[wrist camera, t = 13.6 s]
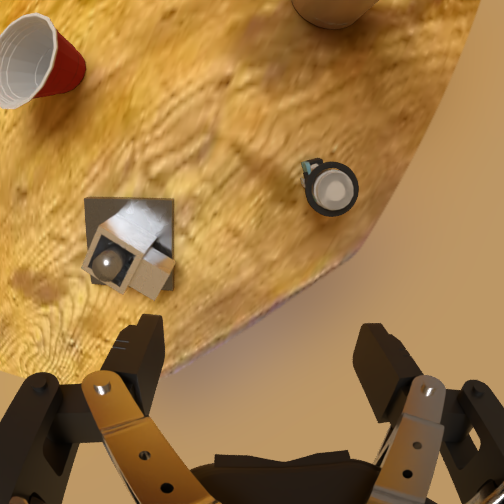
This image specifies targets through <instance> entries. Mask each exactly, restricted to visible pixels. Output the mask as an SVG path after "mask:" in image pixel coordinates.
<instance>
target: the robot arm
mask: <svg viewBox="0 0 504 504" xmlns="http://www.w3.org/2000/svg"><path fill="white" fill-rule="evenodd" d="M378 1H379V0H292V3H293V5H294V7H295V9H296V10H297V12H298V13H299V14H300V15H301V16H302V17H303V18H304V19H305V20H307V21H308V22H310V23H312V24H314V25H316V26H318V27H322V28H326V29H342V28H345V27H348V26H350V25H352V24H353V23H354V22H355V21H356V20H357V19H358V18H360V17H361V16H362V15H363V14H364V13H365V12H366V11H368V10H369V9H370V8H371V7H372V6H373V5H374V4H375V3H377V2H378ZM164 358H165V343H164V331H163V319H162V316H161V315H151V314H142V316H141V318H140V320H139V322H138V324H137V326H136V325H129V326H127V327H126V328H125V329H123V330H122V331H121V332H120V333H119V335H118V337H117V339H116V341H115V343H114V345H113V348H111V350H110V352H109V354H108V356H107V358H106V360H105V361H104V363H103V365H102V367H101V369H100V371H95V372H92V373H90V374H89V375H87V376H86V377H85V378H84V379H83V381H82V383H81V384H66V385H60V384H59V382H58V379H57V378H56V377H55V376H54V375H52V374H50V373H46V372H40V373H35V374H33V375H31V376H29V377H28V378H27V379H26V380H25V381H24V382H23V384H22V386H21V387H20V389H19V391H18V392H17V394H16V395H15V397H14V399H13V401H12V402H11V404H10V406H9V408H8V409H7V411H6V413H5V415H4V417H3V418H2V420H1V422H0V504H62V500H63V497H64V493H65V490H66V486H67V483H68V479H69V476H70V472H71V469H72V466H73V462H74V459H75V456H76V453H77V450H78V447H79V444H80V443H90V442H103V445H104V447H105V449H106V451H107V453H108V454H109V456H110V458H111V460H112V462H113V464H114V466H115V468H116V469H117V471H118V473H119V475H120V477H121V478H122V480H123V482H124V484H125V486H126V488H127V489H128V491H129V493H130V495H131V496H132V498H133V499H134V501H135V503H136V504H437V503H435V502H434V501H432V500H430V499H429V498H427V494H428V490H429V487H430V484H431V480H432V477H433V474H434V470H435V466H436V463H437V459H438V455H439V451H440V453H441V455H442V457H443V460H444V462H445V464H446V466H447V468H448V471H449V473H450V476H451V478H452V480H453V483H454V485H455V488H456V490H457V493H458V495H459V498H460V500H461V503H462V504H504V408H503V406H502V405H501V403H500V402H499V400H498V399H497V398H496V396H495V395H494V394H493V392H492V391H491V389H490V388H489V387H488V386H487V385H486V384H485V383H483V382H480V381H478V380H469V381H467V382H465V384H464V385H463V387H462V389H461V390H451V389H446V388H445V386H444V384H443V383H442V382H441V381H440V380H438V379H437V378H435V377H432V376H429V375H424V374H423V373H422V371H421V370H420V369H419V367H418V366H417V364H416V363H415V361H414V360H413V358H412V357H411V356H410V354H409V353H408V351H407V350H406V348H405V347H404V346H403V344H402V343H401V341H400V340H398V339H397V338H396V337H394V336H393V335H392V334H388V332H387V331H386V329H385V328H384V327H383V325H382V324H381V323H365V324H363V325H362V326H361V329H360V332H359V336H358V340H357V343H356V346H355V350H354V353H353V367H354V369H355V372H356V374H357V376H358V378H359V380H360V383H361V385H362V387H363V389H364V391H365V394H366V396H367V398H368V401H369V403H370V405H371V407H372V409H373V412H374V414H375V416H376V419H377V421H378V423H384V422H390V424H391V426H390V428H389V429H388V431H387V434H386V436H385V438H384V441H383V443H382V445H381V447H380V449H379V452H378V454H377V456H376V458H375V460H374V462H373V464H371V463H368V462H365V461H361V460H356V459H350V456H349V452H348V450H344V451H335V452H325V453H317V454H313V455H310V456H306V457H303V458H299V459H296V460H292V461H287V462H280V461H274V460H268V459H263V458H258V457H253V456H247V455H244V456H243V455H219V454H215V460H214V463H212V464H207V465H203V466H199V467H196V468H193V469H191V470H189V469H188V468H187V466H186V465H185V464H184V463H183V461H182V460H181V459H180V457H179V456H178V455H177V453H176V452H175V451H174V449H173V448H172V447H171V446H170V444H169V443H168V441H167V440H166V439H165V437H164V436H163V434H162V433H161V432H160V430H159V429H158V427H157V426H156V424H155V423H154V421H153V420H152V419H151V418H150V417H149V412H150V408H151V405H152V401H153V398H154V394H155V390H156V387H157V384H158V380H159V377H160V373H161V370H162V366H163V363H164ZM473 427H474V429H475V431H476V432H477V434H478V436H479V438H480V441H481V445H480V449H479V451H478V450H477V448H476V446H475V445H474V443H473V441H472V439H471V437H470V435H469V432H470V431H471V429H472V428H473Z"/></svg>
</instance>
